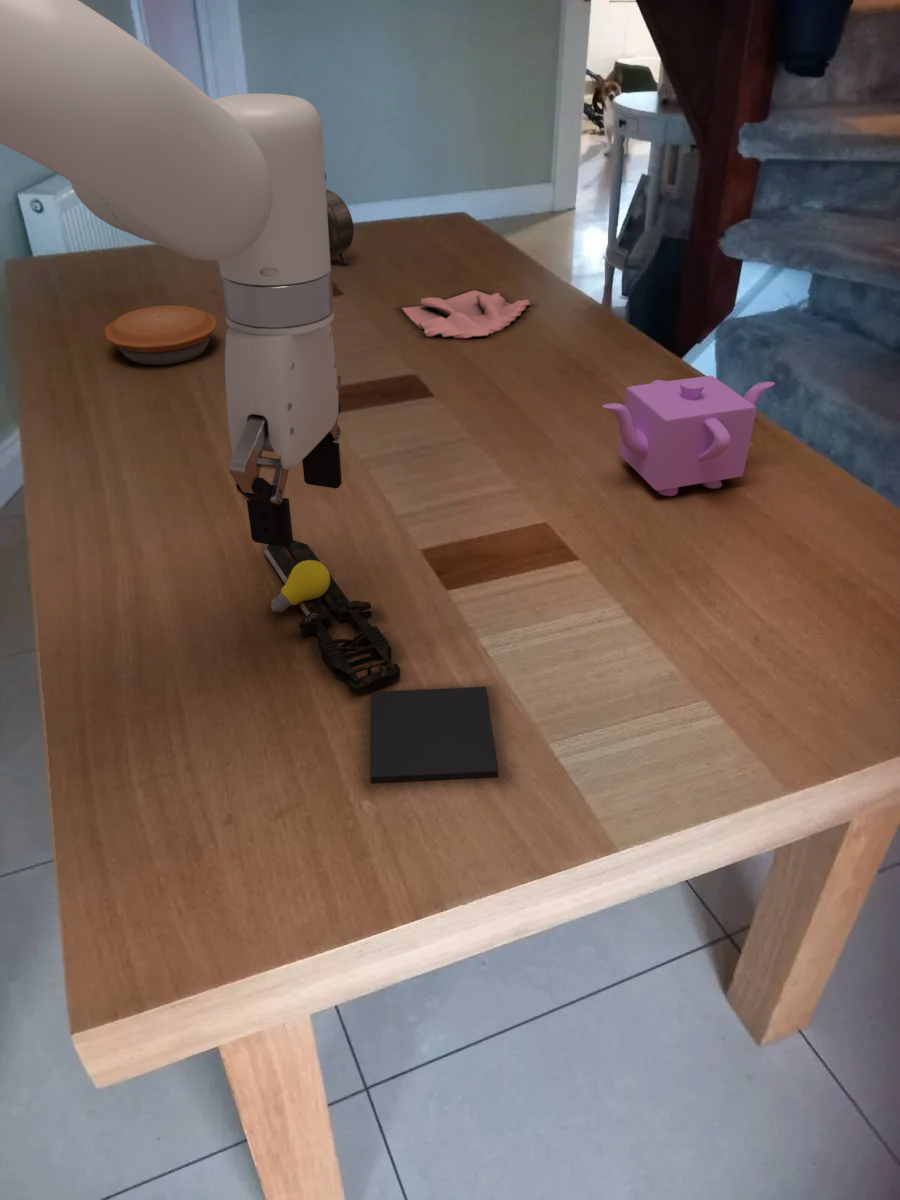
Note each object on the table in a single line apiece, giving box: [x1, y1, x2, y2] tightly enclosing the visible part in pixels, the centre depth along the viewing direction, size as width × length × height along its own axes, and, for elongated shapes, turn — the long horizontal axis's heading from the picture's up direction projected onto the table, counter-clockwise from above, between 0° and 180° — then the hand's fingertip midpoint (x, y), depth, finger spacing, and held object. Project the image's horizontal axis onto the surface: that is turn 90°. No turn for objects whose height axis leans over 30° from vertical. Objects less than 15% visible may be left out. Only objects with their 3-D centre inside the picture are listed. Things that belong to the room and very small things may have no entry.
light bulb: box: [270, 560, 331, 613], centre depth 81 cm, size 3×6×4 cm
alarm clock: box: [325, 172, 355, 266], centre depth 163 cm, size 11×5×16 cm, turn 53°
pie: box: [104, 304, 218, 366], centre depth 131 cm, size 15×16×5 cm
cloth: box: [401, 289, 531, 340], centre depth 143 cm, size 20×22×2 cm
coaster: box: [369, 686, 499, 783], centre depth 68 cm, size 9×9×1 cm
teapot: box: [601, 375, 776, 497], centre depth 98 cm, size 15×13×11 cm
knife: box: [263, 539, 401, 695], centre depth 81 cm, size 25×6×1 cm, turn 22°
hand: (299, 512), depth 74 cm, fingers open, 9 cm apart
